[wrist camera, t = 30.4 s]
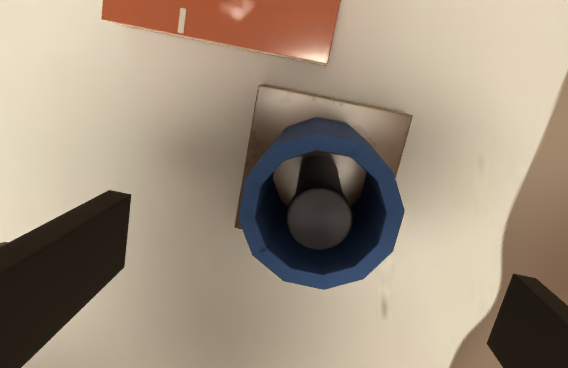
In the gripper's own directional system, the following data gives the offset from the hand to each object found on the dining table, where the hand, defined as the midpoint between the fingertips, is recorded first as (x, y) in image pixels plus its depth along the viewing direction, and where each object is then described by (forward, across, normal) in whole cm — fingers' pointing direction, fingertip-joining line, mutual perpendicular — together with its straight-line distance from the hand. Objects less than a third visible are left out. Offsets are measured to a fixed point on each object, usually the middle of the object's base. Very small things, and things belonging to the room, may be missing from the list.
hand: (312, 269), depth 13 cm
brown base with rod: (+15, 0, 0) cm, 15 cm away
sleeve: (+13, 0, 0) cm, 13 cm away
